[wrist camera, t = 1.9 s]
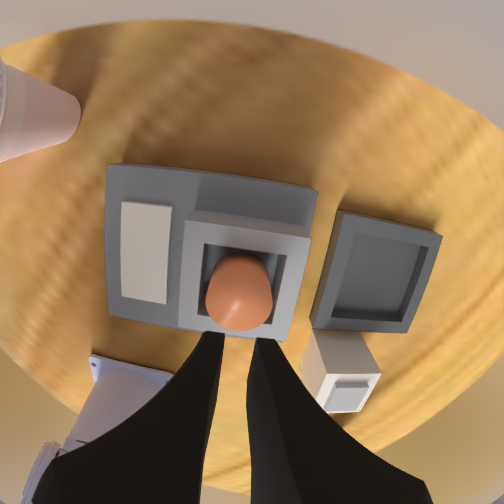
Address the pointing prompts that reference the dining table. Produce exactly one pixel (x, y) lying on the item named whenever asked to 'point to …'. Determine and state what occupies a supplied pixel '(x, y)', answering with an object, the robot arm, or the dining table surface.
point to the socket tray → (373, 274)
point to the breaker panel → (200, 242)
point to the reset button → (239, 292)
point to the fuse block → (338, 370)
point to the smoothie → (33, 113)
